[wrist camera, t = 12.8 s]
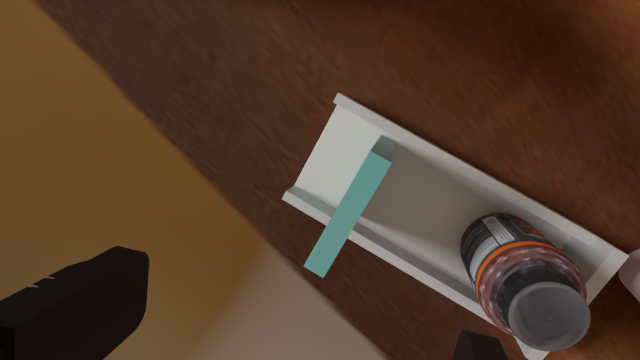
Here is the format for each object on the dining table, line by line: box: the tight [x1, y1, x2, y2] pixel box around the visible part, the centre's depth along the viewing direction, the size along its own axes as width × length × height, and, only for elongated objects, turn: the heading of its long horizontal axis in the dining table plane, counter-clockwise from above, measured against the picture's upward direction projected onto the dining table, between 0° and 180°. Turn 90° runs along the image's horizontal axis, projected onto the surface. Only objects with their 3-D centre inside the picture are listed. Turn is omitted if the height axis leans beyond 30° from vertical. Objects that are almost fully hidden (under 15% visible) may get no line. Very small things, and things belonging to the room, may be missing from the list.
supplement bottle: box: [460, 213, 591, 352], centre depth 25 cm, size 6×6×11 cm
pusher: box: [304, 135, 395, 278], centre depth 25 cm, size 1×7×13 cm, turn 152°
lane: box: [282, 93, 629, 360], centre depth 30 cm, size 22×10×6 cm, turn 62°
